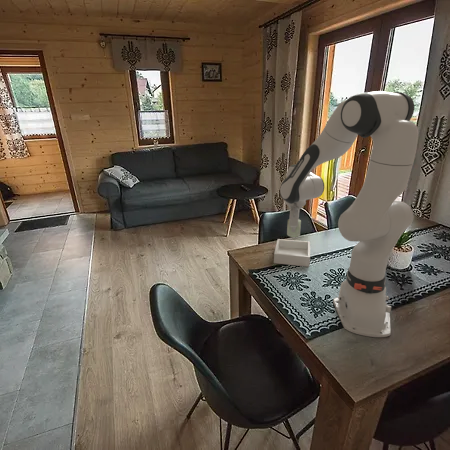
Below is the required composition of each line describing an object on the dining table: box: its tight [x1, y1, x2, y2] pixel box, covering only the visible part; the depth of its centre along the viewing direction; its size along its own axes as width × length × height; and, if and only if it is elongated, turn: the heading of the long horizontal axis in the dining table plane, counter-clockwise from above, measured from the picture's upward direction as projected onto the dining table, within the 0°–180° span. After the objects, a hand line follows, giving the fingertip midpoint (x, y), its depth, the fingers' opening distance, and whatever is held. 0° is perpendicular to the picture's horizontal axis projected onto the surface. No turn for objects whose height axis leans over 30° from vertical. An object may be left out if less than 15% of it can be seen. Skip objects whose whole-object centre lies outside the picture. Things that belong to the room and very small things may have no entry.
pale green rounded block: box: [286, 218, 302, 238], centre depth 134 cm, size 6×6×7 cm
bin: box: [273, 238, 311, 268], centre depth 138 cm, size 16×16×5 cm
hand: (293, 228), depth 134 cm, fingers closed on pale green rounded block, 6 cm apart
